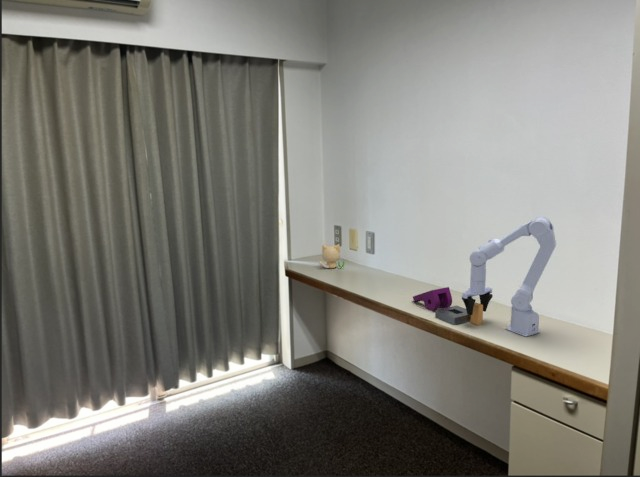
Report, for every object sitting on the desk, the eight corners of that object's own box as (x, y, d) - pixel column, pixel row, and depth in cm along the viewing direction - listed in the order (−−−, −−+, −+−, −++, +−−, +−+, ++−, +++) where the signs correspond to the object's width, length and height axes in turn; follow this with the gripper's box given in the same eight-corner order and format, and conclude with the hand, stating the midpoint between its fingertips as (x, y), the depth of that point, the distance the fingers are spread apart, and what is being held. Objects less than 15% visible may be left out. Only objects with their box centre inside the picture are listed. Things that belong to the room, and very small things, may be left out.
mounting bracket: (413, 315, 216) (437, 309, 201) (408, 297, 218) (431, 290, 202) (429, 312, 220) (454, 305, 205) (424, 294, 222) (448, 286, 207)
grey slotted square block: (476, 319, 192) (476, 312, 192) (454, 325, 187) (454, 317, 186) (456, 312, 202) (456, 305, 201) (435, 317, 196) (435, 310, 196)
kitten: (345, 266, 290) (344, 242, 287) (343, 270, 280) (343, 245, 278) (321, 266, 292) (320, 242, 289) (319, 269, 282) (318, 245, 279)
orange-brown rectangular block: (482, 324, 187) (483, 304, 186) (478, 325, 186) (478, 305, 185) (474, 321, 191) (475, 302, 189) (470, 322, 190) (471, 303, 188)
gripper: (483, 275, 192) (481, 306, 195) (456, 280, 185) (455, 313, 188) (496, 278, 186) (495, 311, 188) (470, 284, 179) (469, 318, 182)
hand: (476, 312), depth 188 cm, fingers open, 7 cm apart
